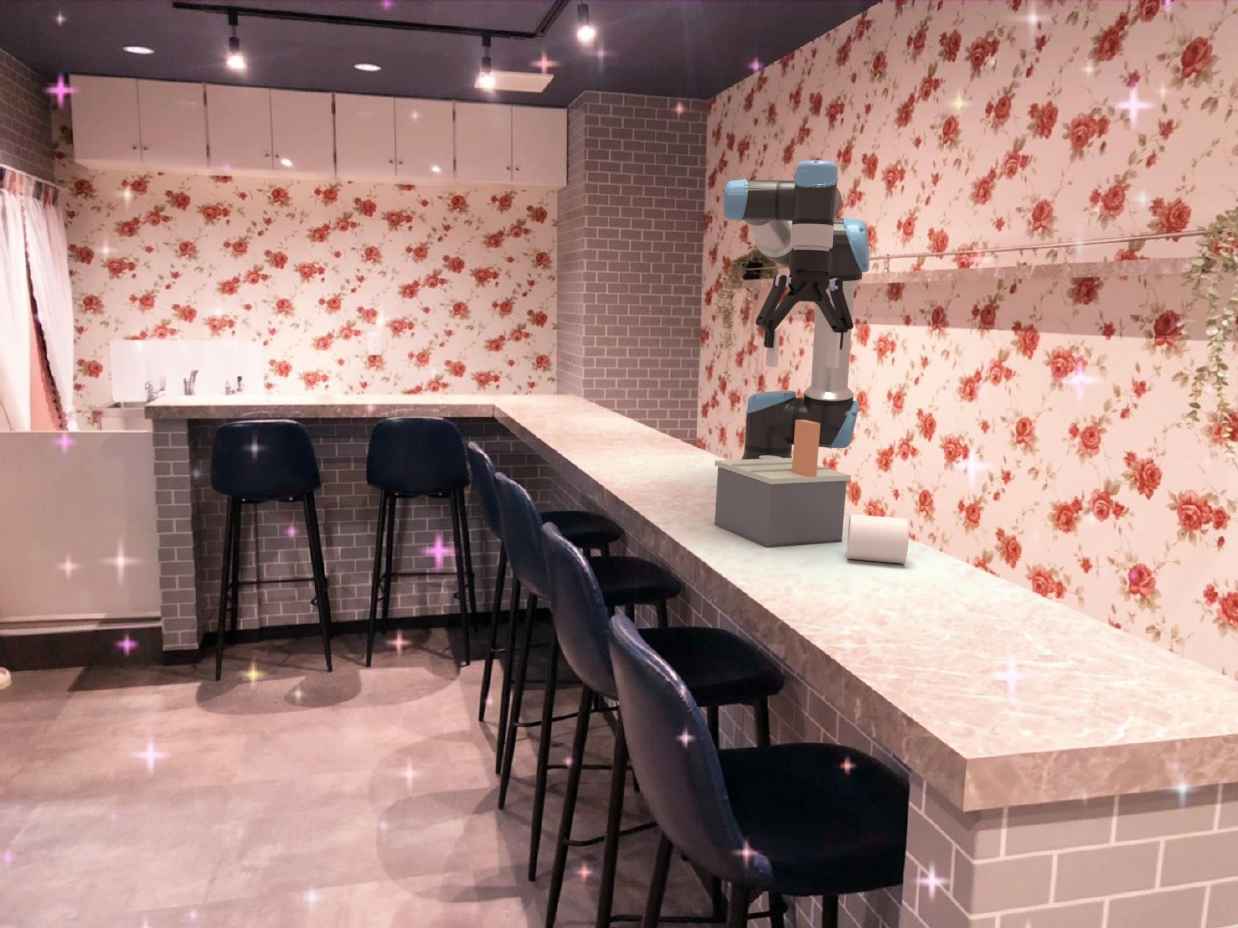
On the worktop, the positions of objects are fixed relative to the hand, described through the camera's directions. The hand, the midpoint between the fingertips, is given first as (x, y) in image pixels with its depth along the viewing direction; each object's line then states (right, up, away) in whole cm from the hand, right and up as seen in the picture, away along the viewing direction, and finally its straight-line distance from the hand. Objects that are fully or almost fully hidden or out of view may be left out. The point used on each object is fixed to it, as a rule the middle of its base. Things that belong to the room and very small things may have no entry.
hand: (802, 367), depth 183 cm
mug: (+12, -35, -5) cm, 37 cm away
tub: (-3, -31, +11) cm, 33 cm away
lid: (-2, -21, +9) cm, 23 cm away
